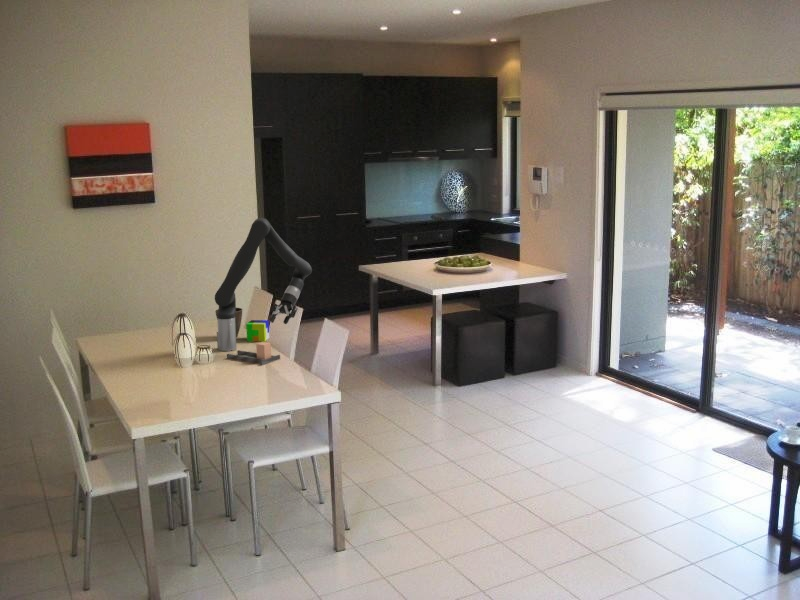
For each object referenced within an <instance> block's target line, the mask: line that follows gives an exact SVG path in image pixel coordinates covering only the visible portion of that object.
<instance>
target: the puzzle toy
mask: <svg viewBox="0 0 800 600" xmlns="http://www.w3.org/2000/svg"><path fill="white" fill-rule="evenodd" d="M269 321H270V319H269V320H268V319H267V320H266V319H265V320H263V319H259V320H255V319H250V321H248V322H247V323H246V326H245V327H246V328H245V329H246V341H261V342H267V340H269V339H270V326H269V325H270V322H269ZM261 342H260V343H261Z"/></svg>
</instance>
